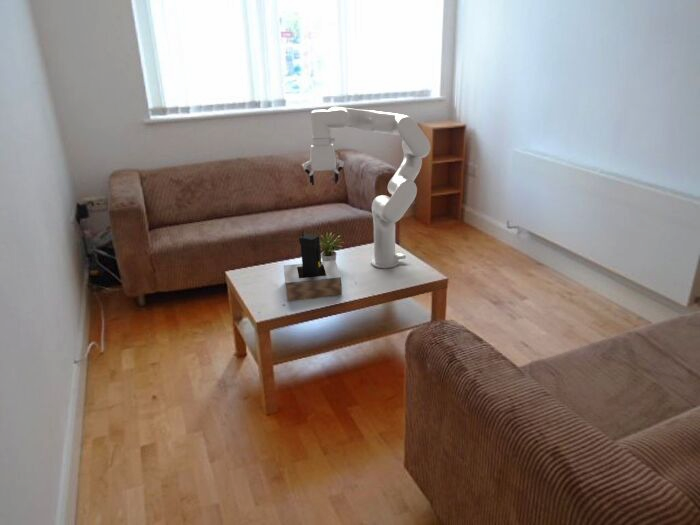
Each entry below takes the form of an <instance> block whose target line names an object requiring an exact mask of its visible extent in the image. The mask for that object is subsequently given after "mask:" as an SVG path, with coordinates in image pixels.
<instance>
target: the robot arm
mask: <svg viewBox="0 0 700 525" xmlns="http://www.w3.org/2000/svg"><path fill="white" fill-rule="evenodd" d="M310 123H311V124H310V125H311V140H312V141H311V142H312V144H311V145H310V150H309V151H310V154H309V156H310V158H309V160H307V161H306V162H304V163H302V165H301V166H302V168H303V170H304V172H305V173H306V174H308V176H309V183H310V184H311V186H315V180H314V178H315V177H314V175H313V174H314V173H315V172H317V171H331V170H332V171H333V172H334V173H333V178H334V183H335V184H338V182H339V173H340V172H341V171H342V169H343V167H344V165H345V162H344V161H343V160H341V159H339V158H336V154H335V152H336V151H335V148H334V144H333V142H335V141H336V139H335V137H332V132H331V129H344V128H346V127H348V128H353V129H357V130H361V131H363V132H368V133H369V132H370V133H378V134H387V135H395V136H399V137H401V139H402V141H401V147H402V151H403V159H402V162H401V163H400V166H398V169H397V170H396V172H394V174H393V175H392V177H391V178H390V180H389V181H388V184H387V191H388V192H389V194H390V195H391V196H388V195H384V194H381V195H377V196H376V197H374V199H373V201H372V203H371V215H372V220H373V221H372V222H373V254H374V255H373V256H374V257H373V258H372V259H371V260H370V264H371V265H372V267H374V268H378V269H392V268H395V267H396V266H398V265H399V263H400V262H399V260H405V259H406V258H407V257H406V254H402V252H401V253H397V252H396V223H397V222H398V221H399V220H401V219H402V218H403V216H404V214H406V213H407V210H408V209H409V207H410V206H411V204H412V203H413V202H414V200H415V199H416V197H417V192H418V187H417V185H416V183H415V182H414V181H415V180H416V178H417V176H418V175H419V174H420V170H421V168H422V164H423V158H426V157H427V156H428V155H429V154H430V152H431V143H430V140H429V138H428V137H427V136H426V135H425V133H424V132H423V131H422V129H421V128H420V126H419V125H418V124H417V122H416V121H415V120H414V119H413V118H412V117H411V116H409V115H406V114H401V113H394V112H386V111H379V110H378V111H377V110H373V109H372V110H370V109H369V110H368V109H359V108H350V107H342V106H332V107H330V108H329V109H313V110H312V111H311V112H310ZM337 163H338V164H339V166H338V167H336V166H337ZM309 165H310V169H308V166H309Z"/></svg>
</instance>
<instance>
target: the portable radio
mask: <svg viewBox="0 0 700 525" xmlns="http://www.w3.org/2000/svg"><path fill="white" fill-rule="evenodd" d="M298 240H299V245H300V250H301V251H300V253H301V262H302V263H301V264H302V266H303V278H308V277H318V276H322V266H321V262H322V257H321V253H322V252H321V251H322V250H320V248H321V246H320V242H321V241H320V240H321V239H320V236H319V235H315V234H310V233H304V229H301V236H299V237H298Z"/></svg>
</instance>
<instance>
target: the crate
mask: <svg viewBox="0 0 700 525" xmlns="http://www.w3.org/2000/svg"><path fill="white" fill-rule="evenodd" d="M321 266H322V276H318V277H308V278H303V266H302V263H298V264H297V263H295V264H286V265H283V274H284V284H285V291H286V293H285V294H286V300H287V302H292V301H302V300H312V299H321V298H330V297H339V296H343V288H342V287H343V286H342V276H341V273H340V270H339V268H338V265H337V262H335V260H334V261H324V262H323V261H321Z"/></svg>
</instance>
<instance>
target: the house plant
mask: <svg viewBox="0 0 700 525" xmlns="http://www.w3.org/2000/svg"><path fill="white" fill-rule="evenodd" d="M335 235H336V233H334V234H333V235H332V231H331V232H330V233H329V234H328V232H326V239H325V236H323V235H322V234H320V237H321V239H322V240H321V239H320V251H322V252H321V262H324V261H334V260H335V262H336V260H337V251H335V250H342V248H343V246H342V245H341V244H344V243H346V242H343V241H342V239H339V238H340V236H342V235H338V236H336V238H334V237H335ZM333 238H334V239H333ZM332 239H333V241H332ZM340 240H341V241H340ZM338 244H339V245H338ZM321 247H322V248H323V249H322V248H321ZM336 263H337V262H336Z"/></svg>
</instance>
